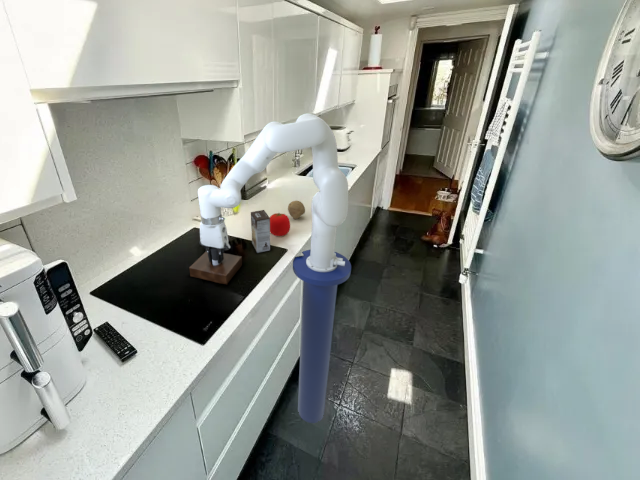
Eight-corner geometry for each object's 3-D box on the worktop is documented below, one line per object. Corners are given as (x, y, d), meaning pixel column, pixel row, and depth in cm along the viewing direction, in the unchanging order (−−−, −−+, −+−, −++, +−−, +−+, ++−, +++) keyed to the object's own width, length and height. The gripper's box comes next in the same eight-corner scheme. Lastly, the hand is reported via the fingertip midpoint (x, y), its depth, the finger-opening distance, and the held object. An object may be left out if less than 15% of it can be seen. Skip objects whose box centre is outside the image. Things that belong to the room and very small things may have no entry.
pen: (222, 266, 124) (220, 247, 120) (218, 270, 121) (216, 251, 117) (215, 265, 125) (213, 245, 121) (211, 269, 122) (209, 250, 118)
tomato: (289, 240, 143) (289, 219, 138) (266, 238, 145) (266, 218, 140) (291, 230, 152) (291, 210, 148) (270, 228, 154) (269, 209, 150)
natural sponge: (297, 213, 170) (298, 196, 165) (308, 219, 163) (309, 201, 159) (284, 217, 165) (284, 200, 161) (295, 223, 159) (295, 205, 154)
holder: (242, 264, 126) (241, 256, 124) (226, 284, 115) (225, 275, 113) (208, 257, 132) (207, 249, 130) (190, 276, 120) (189, 267, 119)
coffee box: (251, 243, 142) (250, 211, 135) (264, 240, 143) (263, 209, 136) (257, 253, 134) (256, 220, 127) (271, 250, 136) (270, 217, 128)
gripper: (236, 217, 113) (239, 259, 121) (197, 212, 119) (203, 252, 127) (226, 226, 107) (230, 269, 115) (186, 220, 113) (193, 262, 121)
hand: (216, 260), depth 121 cm, fingers closed on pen, 3 cm apart
